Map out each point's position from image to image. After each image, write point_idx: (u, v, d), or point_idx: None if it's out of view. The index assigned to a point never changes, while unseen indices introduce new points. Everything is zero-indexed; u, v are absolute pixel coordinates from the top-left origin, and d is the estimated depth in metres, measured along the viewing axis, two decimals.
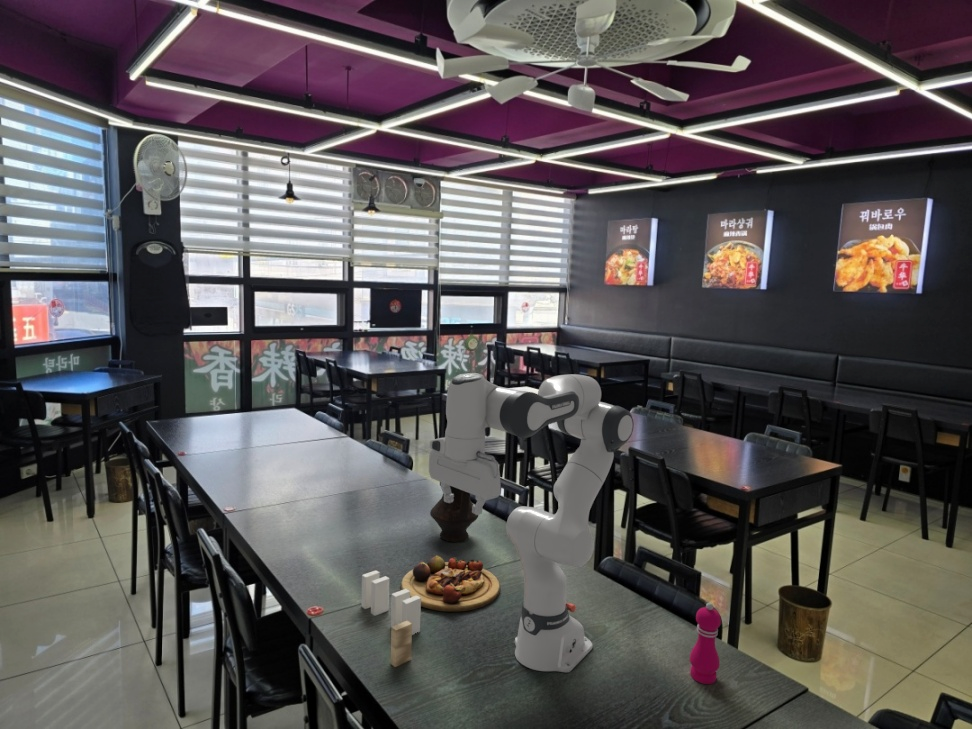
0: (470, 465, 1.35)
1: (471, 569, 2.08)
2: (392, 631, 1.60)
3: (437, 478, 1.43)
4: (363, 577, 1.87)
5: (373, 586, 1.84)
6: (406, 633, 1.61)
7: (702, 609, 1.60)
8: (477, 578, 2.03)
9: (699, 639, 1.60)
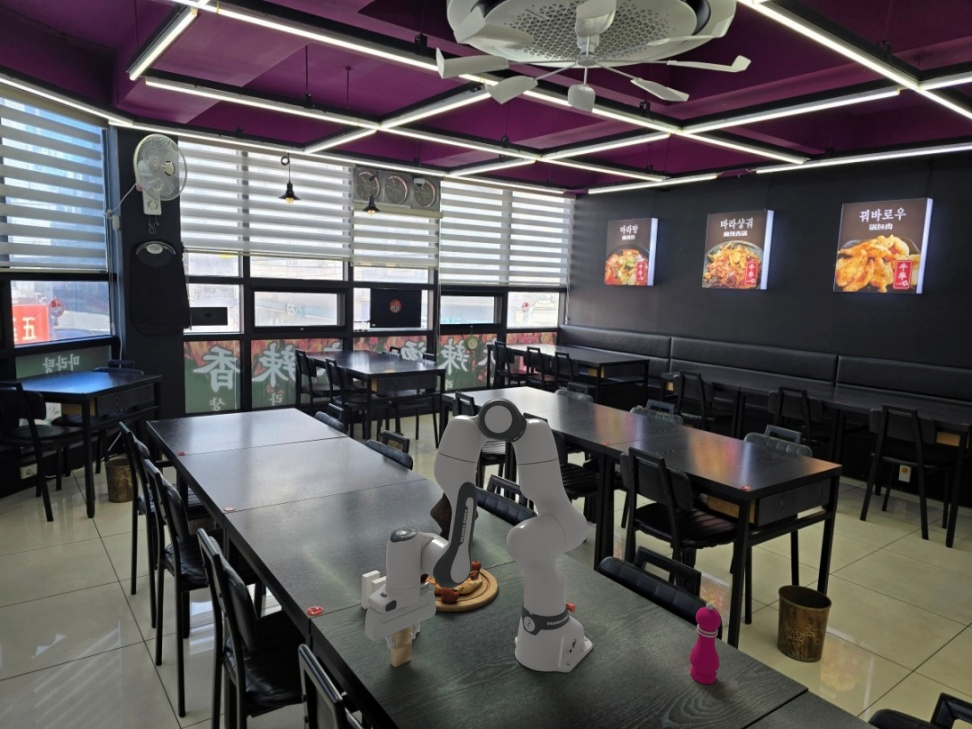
0: (419, 600, 1.62)
1: None
2: None
3: (383, 635, 1.55)
4: (363, 577, 1.87)
5: (373, 586, 1.84)
6: (406, 633, 1.61)
7: (702, 609, 1.60)
8: (475, 578, 2.03)
9: (699, 639, 1.60)
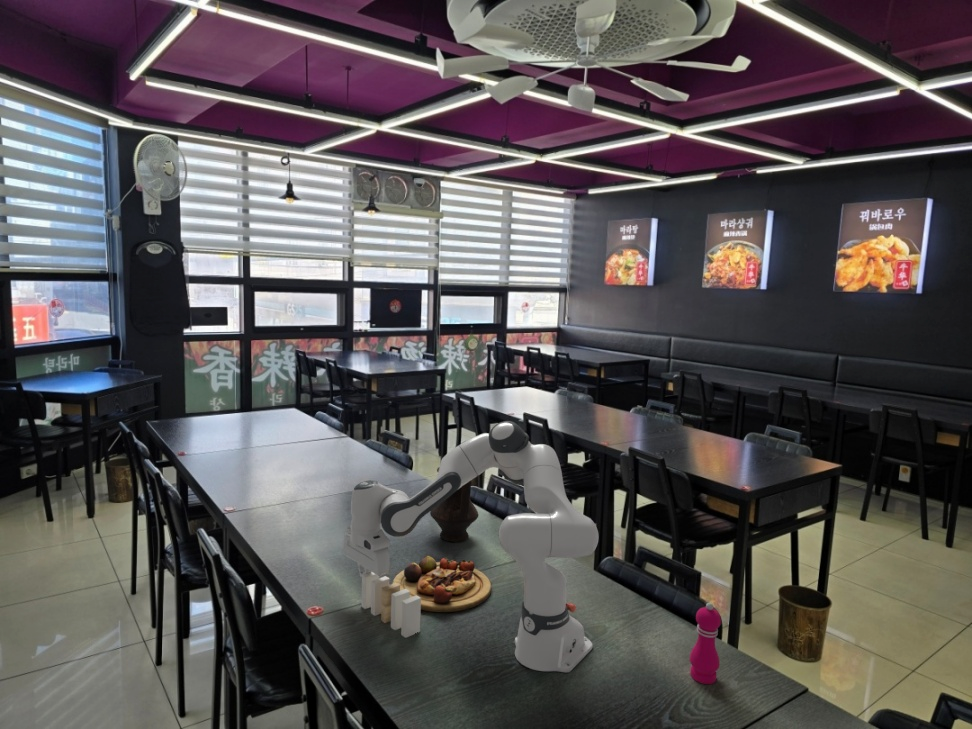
0: None
1: (462, 569, 2.08)
2: (382, 591, 1.80)
3: None
4: (363, 577, 1.87)
5: (373, 586, 1.84)
6: None
7: (702, 609, 1.60)
8: (468, 578, 2.03)
9: (699, 639, 1.60)
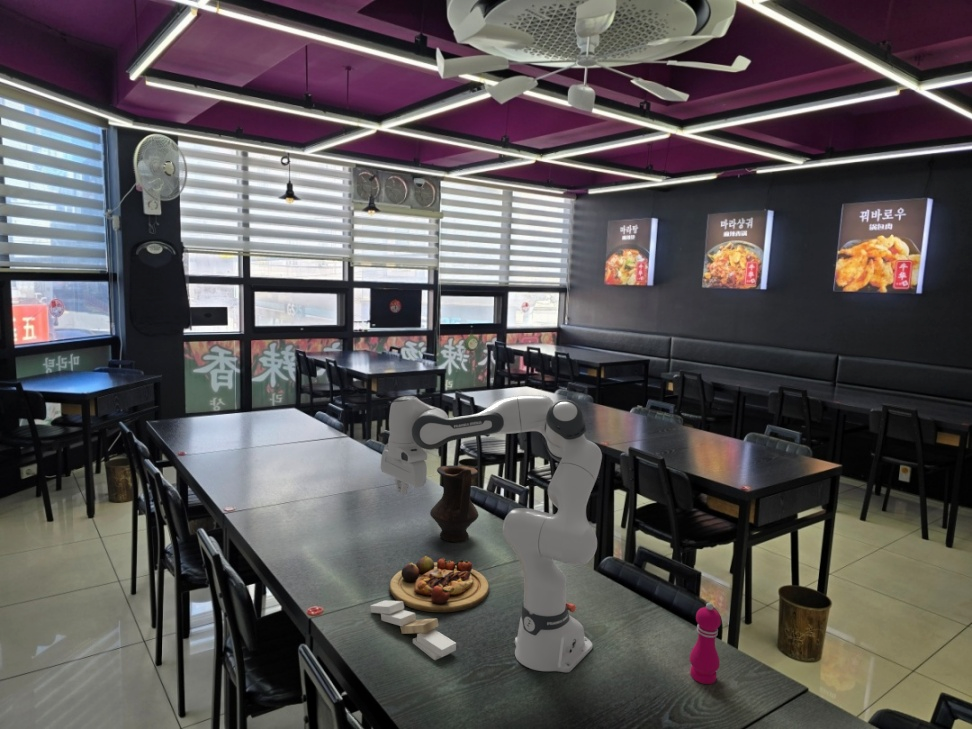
0: None
1: (460, 569, 2.08)
2: (422, 627, 1.70)
3: None
4: (388, 609, 1.79)
5: (398, 622, 1.75)
6: None
7: (702, 609, 1.60)
8: (466, 578, 2.02)
9: (699, 639, 1.60)
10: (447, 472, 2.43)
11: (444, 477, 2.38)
